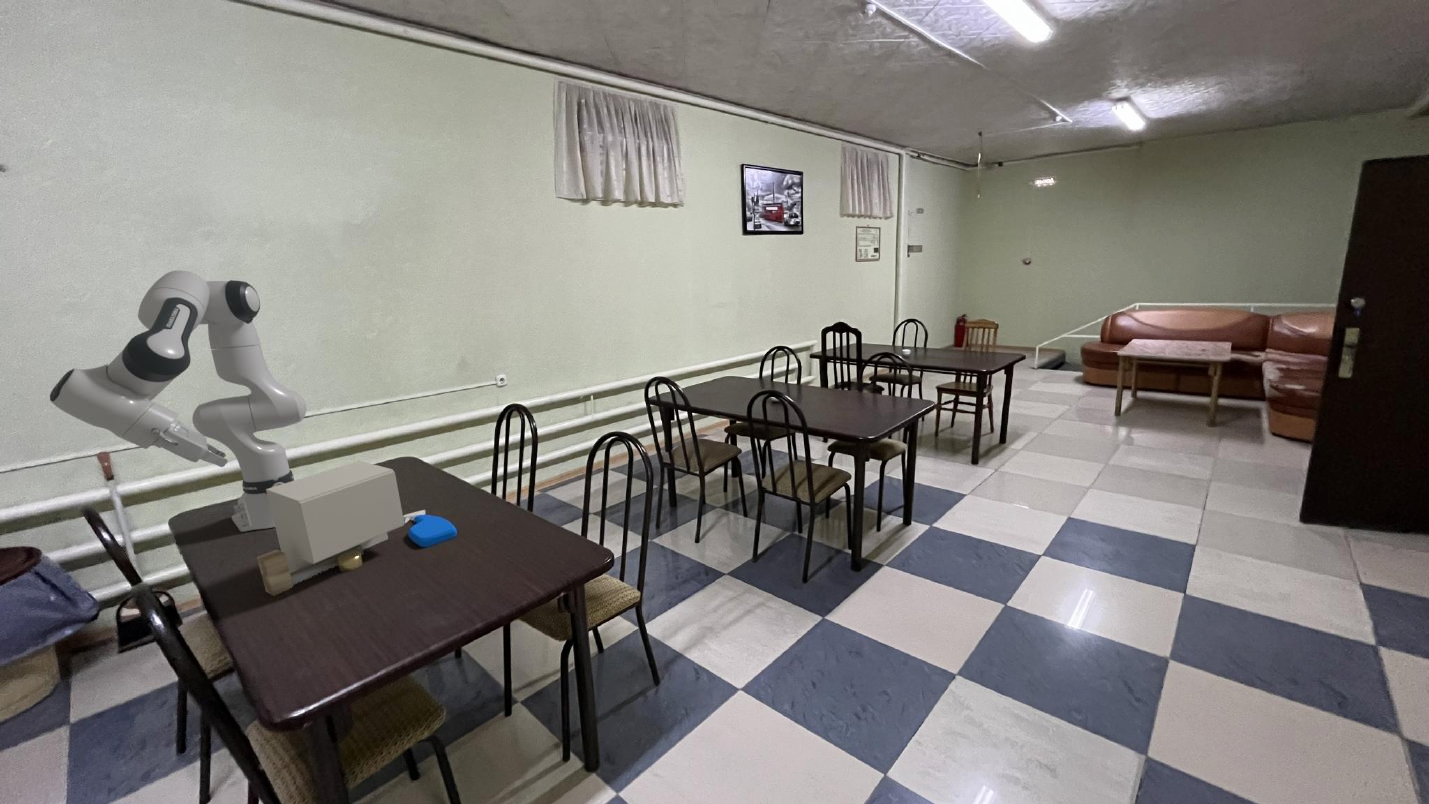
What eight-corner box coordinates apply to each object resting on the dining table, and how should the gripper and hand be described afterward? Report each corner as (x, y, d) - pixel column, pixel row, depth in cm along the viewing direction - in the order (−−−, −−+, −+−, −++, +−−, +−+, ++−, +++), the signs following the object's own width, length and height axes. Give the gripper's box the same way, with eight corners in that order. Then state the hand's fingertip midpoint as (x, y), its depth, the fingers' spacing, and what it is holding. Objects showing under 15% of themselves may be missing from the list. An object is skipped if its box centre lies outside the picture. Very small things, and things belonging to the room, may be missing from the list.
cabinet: (286, 570, 142) (266, 489, 136) (374, 533, 160) (359, 460, 155) (319, 587, 133) (299, 501, 128) (408, 546, 152) (394, 469, 146)
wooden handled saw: (265, 591, 132) (256, 557, 130) (357, 551, 150) (351, 520, 148) (273, 596, 131) (264, 561, 128) (366, 554, 148) (359, 523, 146)
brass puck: (335, 568, 142) (333, 558, 141) (356, 559, 146) (353, 549, 145) (346, 573, 139) (343, 562, 139) (366, 564, 144) (364, 553, 143)
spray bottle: (459, 527, 156) (430, 504, 174) (417, 541, 149) (391, 515, 166) (461, 536, 157) (432, 512, 174) (419, 551, 150) (393, 524, 167)
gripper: (163, 419, 112) (238, 455, 120) (167, 410, 127) (232, 442, 135) (138, 446, 110) (215, 481, 118) (144, 434, 125) (212, 465, 133)
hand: (224, 460), depth 127 cm, fingers open, 8 cm apart
